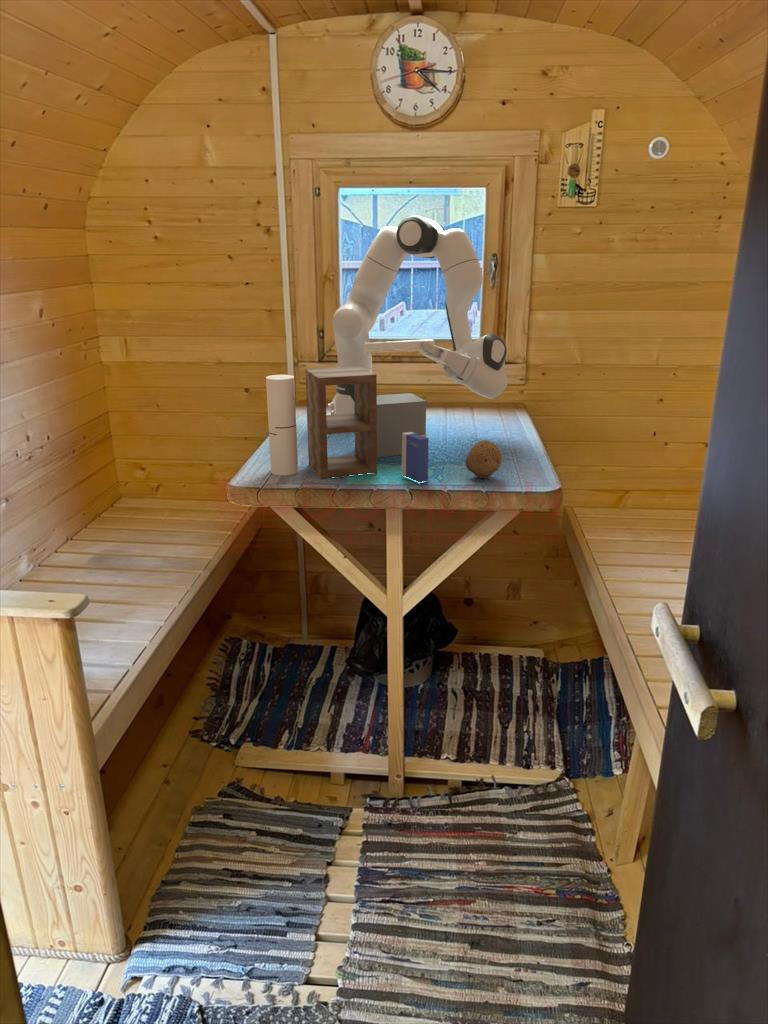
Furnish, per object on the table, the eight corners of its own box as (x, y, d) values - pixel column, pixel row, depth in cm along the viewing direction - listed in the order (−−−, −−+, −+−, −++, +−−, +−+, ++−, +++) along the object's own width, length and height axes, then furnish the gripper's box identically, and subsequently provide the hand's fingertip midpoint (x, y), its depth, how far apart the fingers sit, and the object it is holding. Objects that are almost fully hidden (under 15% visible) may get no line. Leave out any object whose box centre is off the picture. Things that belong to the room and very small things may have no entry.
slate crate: (359, 447, 225) (359, 396, 219) (410, 442, 229) (411, 393, 224) (372, 457, 214) (371, 404, 209) (425, 452, 219) (426, 401, 213)
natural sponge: (504, 484, 191) (506, 445, 188) (469, 484, 191) (470, 446, 187) (496, 473, 200) (498, 436, 196) (463, 474, 199) (464, 437, 196)
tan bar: (363, 352, 211) (363, 342, 210) (430, 348, 216) (431, 339, 216) (366, 353, 208) (366, 343, 207) (434, 349, 214) (434, 340, 213)
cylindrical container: (293, 475, 198) (289, 379, 189) (267, 474, 199) (262, 379, 190) (301, 468, 204) (297, 375, 196) (275, 466, 206) (270, 374, 197)
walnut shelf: (308, 464, 207) (305, 368, 198) (361, 459, 212) (360, 365, 203) (321, 479, 195) (318, 378, 186) (376, 473, 199) (376, 374, 190)
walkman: (427, 482, 192) (428, 436, 188) (419, 484, 191) (419, 438, 187) (410, 475, 198) (410, 430, 194) (401, 476, 197) (401, 431, 193)
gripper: (449, 351, 228) (412, 329, 222) (479, 360, 210) (439, 337, 204) (439, 369, 229) (402, 348, 223) (468, 381, 211) (428, 358, 205)
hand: (420, 343), depth 214 cm, fingers closed on tan bar, 3 cm apart
